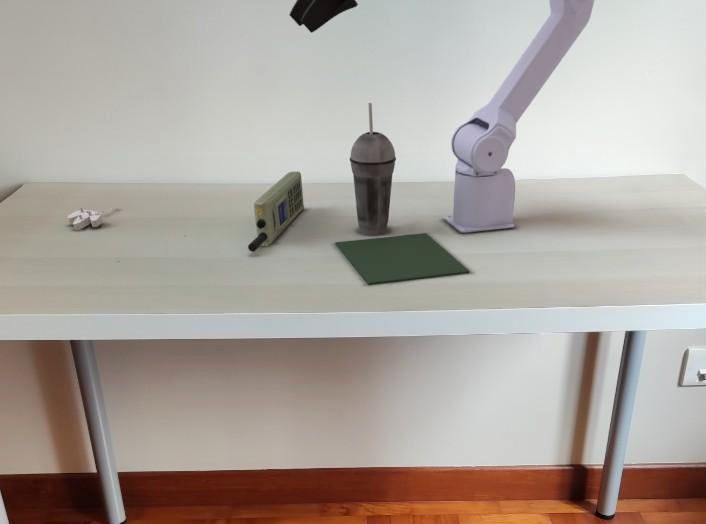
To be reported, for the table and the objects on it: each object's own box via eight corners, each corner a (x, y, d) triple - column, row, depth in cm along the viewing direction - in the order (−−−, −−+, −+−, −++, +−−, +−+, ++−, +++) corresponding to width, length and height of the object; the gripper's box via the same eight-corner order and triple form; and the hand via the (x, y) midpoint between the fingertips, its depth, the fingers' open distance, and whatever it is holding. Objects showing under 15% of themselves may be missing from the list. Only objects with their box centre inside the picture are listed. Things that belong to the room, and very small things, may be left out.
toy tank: (63, 230, 134) (60, 215, 133) (85, 211, 144) (82, 196, 143) (97, 230, 134) (95, 214, 132) (117, 210, 144) (115, 196, 142)
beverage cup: (400, 226, 134) (402, 99, 124) (387, 240, 128) (388, 107, 118) (359, 222, 136) (357, 96, 126) (344, 235, 130) (341, 104, 120)
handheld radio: (307, 209, 143) (263, 256, 122) (289, 209, 144) (243, 256, 123) (303, 171, 140) (258, 212, 119) (285, 171, 141) (237, 212, 119)
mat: (425, 234, 130) (425, 233, 130) (469, 272, 115) (469, 270, 115) (335, 244, 127) (335, 242, 127) (368, 284, 112) (368, 282, 112)
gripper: (335, -79, 115) (270, -4, 117) (363, -78, 103) (290, 6, 105) (368, -38, 118) (304, 33, 121) (399, -33, 106) (327, 47, 109)
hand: (300, 23), depth 113 cm, fingers open, 7 cm apart
